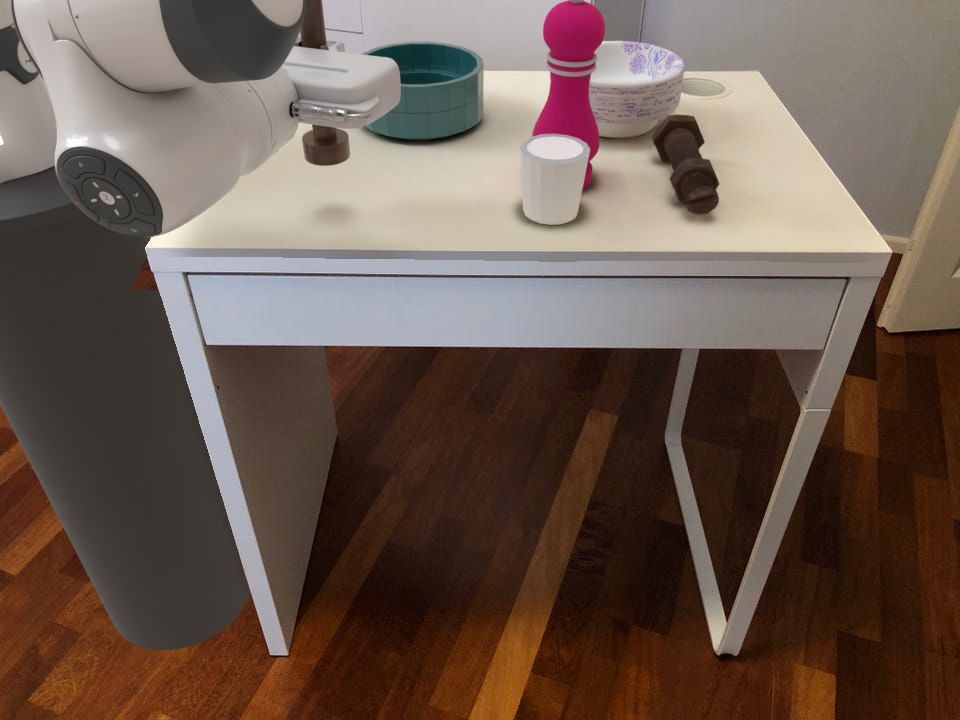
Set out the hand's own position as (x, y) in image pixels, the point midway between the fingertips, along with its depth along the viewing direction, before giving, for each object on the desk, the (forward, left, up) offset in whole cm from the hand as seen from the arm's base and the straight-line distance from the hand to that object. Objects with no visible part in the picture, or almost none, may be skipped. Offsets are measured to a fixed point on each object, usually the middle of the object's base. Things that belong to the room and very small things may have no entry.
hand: (319, 48), depth 71 cm
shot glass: (+22, -1, -16) cm, 27 cm away
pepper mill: (+24, +6, -16) cm, 30 cm away
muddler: (0, -1, -10) cm, 10 cm away
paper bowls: (+32, +21, -17) cm, 42 cm away
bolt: (+37, +4, -16) cm, 41 cm away
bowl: (+8, +23, -16) cm, 29 cm away
